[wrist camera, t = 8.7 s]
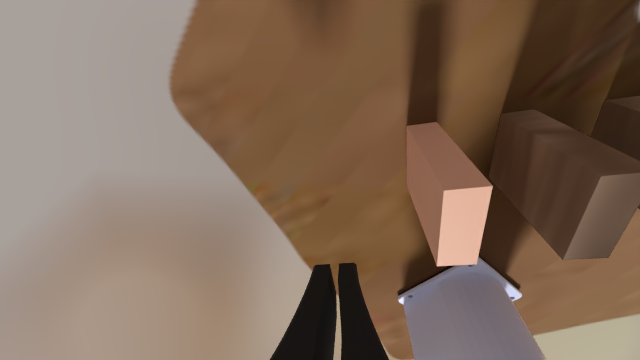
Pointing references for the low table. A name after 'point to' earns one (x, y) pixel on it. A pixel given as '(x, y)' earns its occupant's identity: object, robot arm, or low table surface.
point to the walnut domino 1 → (565, 183)
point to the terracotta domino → (446, 195)
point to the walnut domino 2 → (620, 125)
